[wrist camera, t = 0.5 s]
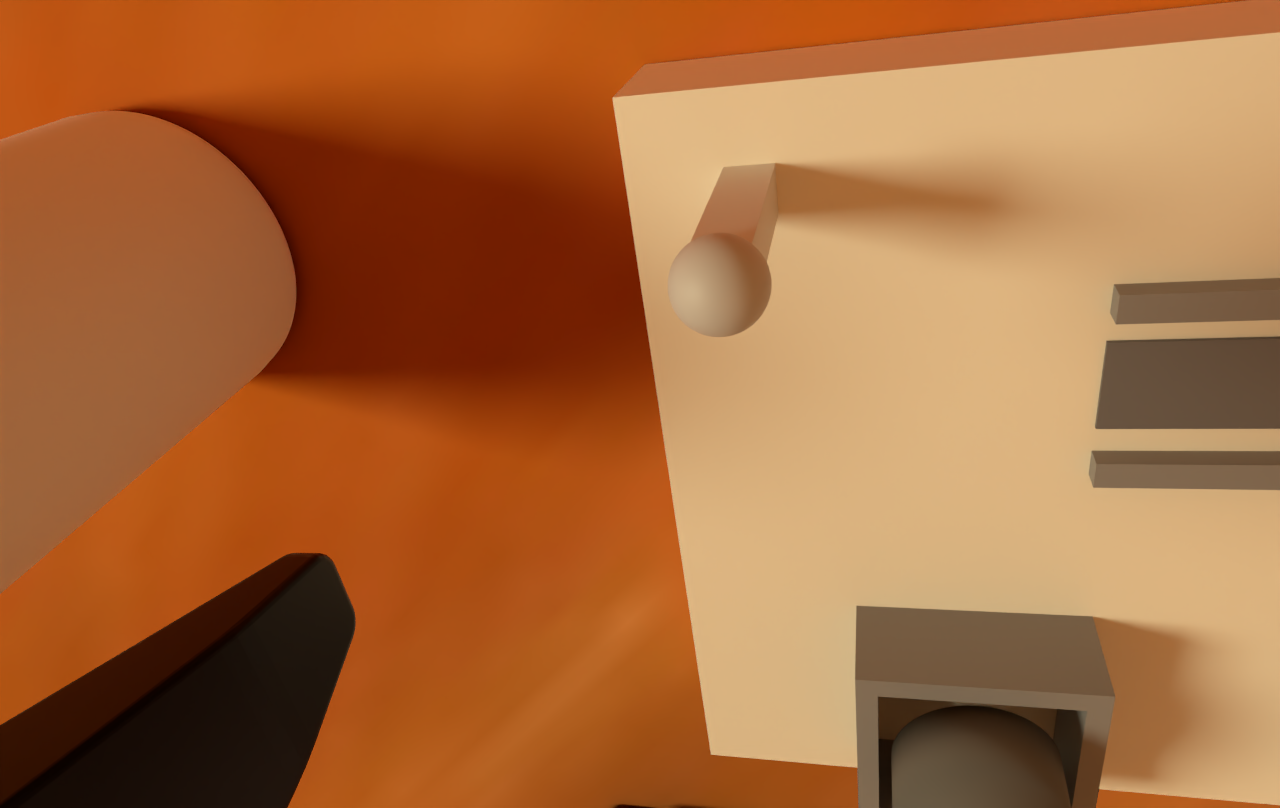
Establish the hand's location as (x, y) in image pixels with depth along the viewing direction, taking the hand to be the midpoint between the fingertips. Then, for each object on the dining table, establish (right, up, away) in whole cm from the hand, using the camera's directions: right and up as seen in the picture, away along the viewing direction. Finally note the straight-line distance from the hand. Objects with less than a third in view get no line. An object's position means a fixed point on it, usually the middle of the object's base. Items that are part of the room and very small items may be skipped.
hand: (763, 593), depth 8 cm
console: (+13, +1, +13) cm, 18 cm away
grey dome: (+7, -7, +13) cm, 16 cm away
